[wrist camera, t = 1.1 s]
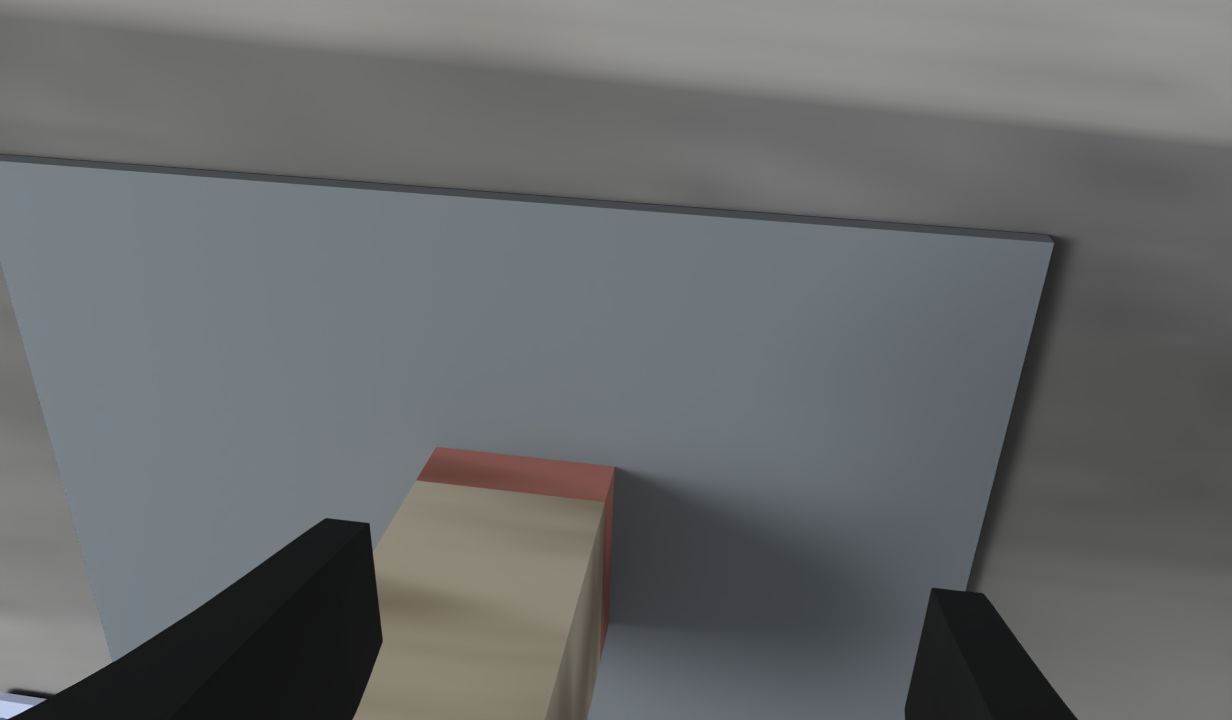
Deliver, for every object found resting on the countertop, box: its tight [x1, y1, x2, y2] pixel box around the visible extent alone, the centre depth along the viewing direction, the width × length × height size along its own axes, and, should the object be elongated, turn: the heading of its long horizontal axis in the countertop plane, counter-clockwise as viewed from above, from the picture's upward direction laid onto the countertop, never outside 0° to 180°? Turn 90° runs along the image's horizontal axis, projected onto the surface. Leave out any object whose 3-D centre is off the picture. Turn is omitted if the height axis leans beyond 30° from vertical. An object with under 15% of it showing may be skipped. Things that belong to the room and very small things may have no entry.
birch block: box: [353, 447, 615, 720], centre depth 21 cm, size 5×4×9 cm
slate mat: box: [0, 154, 1054, 720], centre depth 24 cm, size 16×24×1 cm, turn 88°
